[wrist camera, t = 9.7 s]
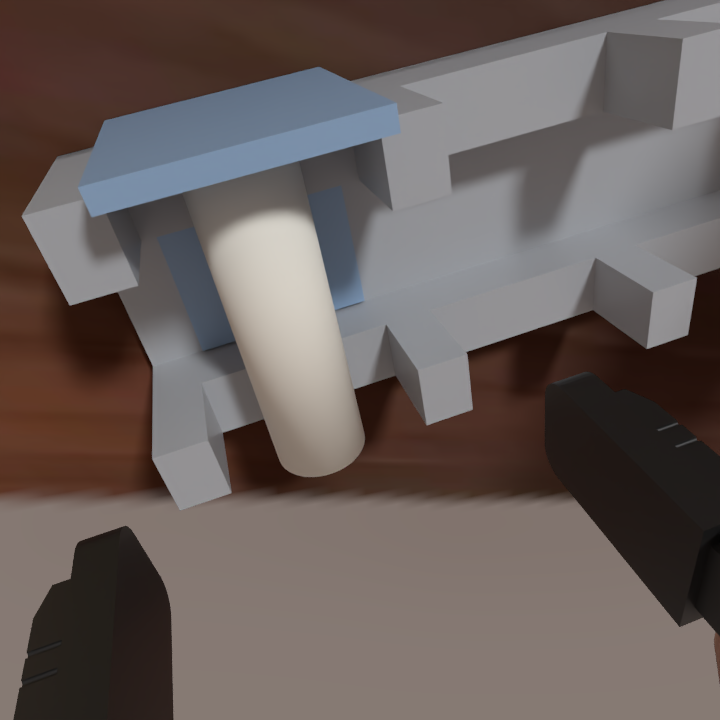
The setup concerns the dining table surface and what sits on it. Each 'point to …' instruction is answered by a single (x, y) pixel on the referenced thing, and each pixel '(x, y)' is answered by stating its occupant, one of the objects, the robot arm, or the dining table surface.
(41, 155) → the dining table surface
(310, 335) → the cream cylindrical rod
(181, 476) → the white peg rack
